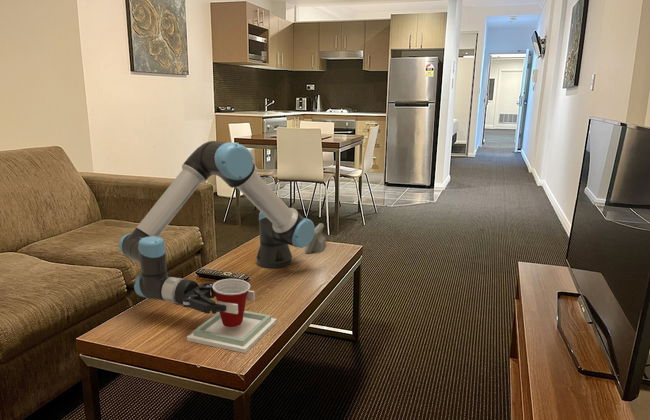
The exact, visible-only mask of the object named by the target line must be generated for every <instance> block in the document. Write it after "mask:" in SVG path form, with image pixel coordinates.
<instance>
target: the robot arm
mask: <svg viewBox="0 0 650 420" xmlns="http://www.w3.org/2000/svg"><path fill="white" fill-rule="evenodd" d="M253 160H254V158H253V154H252V153H251V151H250V149H248V148H247V147H246V146H244V145H243V144H240V143H236V142H229V141H228V142H227V141H218V140H210V141H207V142H204V143H203V144H201V145H200V146H198V147H197V148H196V149H195V150H194V151H193V152H192V153H191V154H190V155H189V156H188V157H187V159H186V160H185V161H184V162H183V164H182V165H181V169H182V170H181V171H180V172H179V173H178V175H177V176H176V177H175V179H174V180H172V182H171V184H170V185H169V186H168V187H167V189H166V190H165V191H164V192H163V194H162V195H161V196H160V197H159V199H158V200H157V201H156V202H155V204H153V206H152V207H151V209H150V210H149V211H148V212H147V214H146V215H145V216H144V217H143V219H141V220H140V222H139V223H138V225H137V226H136V227H135V229H133V231H132V232H130V233H127V234H124V235H123V236H122V237H121V238H120V239H119V242H118V248H119V251H120V252H121V254H122V255H124V257H127V258H129V259H131V260H133V261H134V262H137V263H138V264H139V266H140V274H139V275H137V277H136V278H135V280H134V281H135V284H133V288H134V292H135V293H136V295H138V296H139V297H142V298H146V299H149V300H159V301H163V302H169V303H173V304H175V303H179V304H183V305H182V306H183V307H184V308H189V309H193V310H195V311H198V312H201V313H203V314H206V315H208V314H211V315H215V314H216V313H217V312H216V310H217V311H222V312H227V313H233V314H238V304H234V303H228V302H222V301H217V300H216V301H215V300H213V299H215V298H216V295H215V291H214V290H213V287H212V286H213V284H214V283H215V282H213V283H212V281H208V282H209V283H208V286H199V285H200V284H198V283H197V282H196V281H195V280H192V279H188V278H187V279H186V278H181V277H174V276H169V275H168V268H167V256H166V255H167V253H166V251H167V249H166V245H165V239H164V238H163V237H161V236H160V235H162V233H163V232H164V231H165V230H166V228H167V227H168V225H169V224H170V223H171V222H172V220H174V218H175V217H176V215H178V212H180V210H181V209H182V207H183V206H184V205H185V204H186V202H187V201H188V200H189V199H190V197H191V196H192V195H193V193H194V192H195V191H196V190H197V188H198V187H199V186H200V184H203V183H205V182H206V181H207V180H208V179H209V178H210V177H212V176H218V177H219V178H220V179H221V180H223V182H224V183H226V184H227V186H229V187H230V188H233V189H234V188H235V189H236V188H237V190H239V192H241V193H242V195H244V196H245V197H246V198H247V199H248V200H249V202H250V203H252V205H253V206H254V207H256V208H257V210H259V213H258V228H259V229H258V231H259V246H258V251H257V255H256V259H255V260H256V262H255V263H256V265H258V266H259V267H263V268H267V269H278V268H285V267H287V266H290V265H291V264H292V263H293V254H292V252H291V249H290V246H293V247H294V248H300V249H303V248H306V247H307V245H309V244H310V242H311V241H312V239H313V237H314V231H315V228H316V226H315V224H314V222H313V220H311V219H309V218H305V217H303V216H302V214H300V212H299V211H298V210H297V209H295V208H294V207H288V205H287V204H286V203H285V202H284V201H283V200H282V199H281V198H280V196H279V195H278V194H277V193H276V192H275V191H274V190H273V189H272V188H271V187H270V186H269V184H268V183H267V182H266V181H265V180H264V179H263V178H262V177H261V176H260V175H259V174H258V173H257V172H256V164H255V163H254V161H253ZM289 245H290V246H289ZM246 301H252V302H254V301H256V292H255V290H250V289H249V290H248V293H247V296H246ZM205 307H206V309H205Z"/></svg>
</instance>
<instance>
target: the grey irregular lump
mask: <svg viewBox="0 0 650 420" xmlns="http://www.w3.org/2000/svg"><path fill="white" fill-rule="evenodd" d="M324 227H325V225H324V223H323V222H321V223H318V225H316V226H315V231H314V237H313V239H312V241H311V242H310V244H309V245H307V246H306V247H305V250H304V251H305V253H306V254H311V253H322V252H323V251H324V250H325V248H326V245H327V244H326V241H327V240H326V239H327V238H326V237H325V236H324V235H323V230H324Z"/></svg>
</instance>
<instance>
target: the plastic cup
mask: <svg viewBox="0 0 650 420" xmlns="http://www.w3.org/2000/svg"><path fill="white" fill-rule="evenodd" d="M213 283H214V284H213V286H212V287H213V290H214V291H215V295H216V297H215V299H216V302H217V301H222V302H228V303H234V304H238V314H233V313H227V312H222V311H219V312H220V315H221V319H222V323H223V325H224V326H227V327H235V326H238V325H240V324H241V323H242V321H243V315H244V311H246V310H245V309H246V303H247V302H246V301H247V300H246V296H247V293H248V290H249V291H250V288H251V284H250V283H249V282H248V281H246V280H243V279H240V278H225V279H224V278H223V279H219V280H217V281H216V282H213Z"/></svg>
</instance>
